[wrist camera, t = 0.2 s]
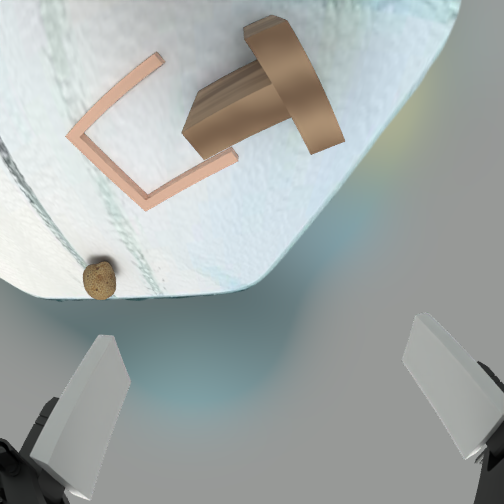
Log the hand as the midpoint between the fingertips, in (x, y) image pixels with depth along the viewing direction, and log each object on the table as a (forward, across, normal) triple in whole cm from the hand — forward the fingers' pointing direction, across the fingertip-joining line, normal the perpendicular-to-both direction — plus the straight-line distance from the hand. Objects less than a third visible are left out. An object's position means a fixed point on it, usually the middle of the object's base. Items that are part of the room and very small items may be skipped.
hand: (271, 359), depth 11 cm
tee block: (+29, +1, +19) cm, 35 cm away
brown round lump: (+52, -36, -14) cm, 65 cm away
